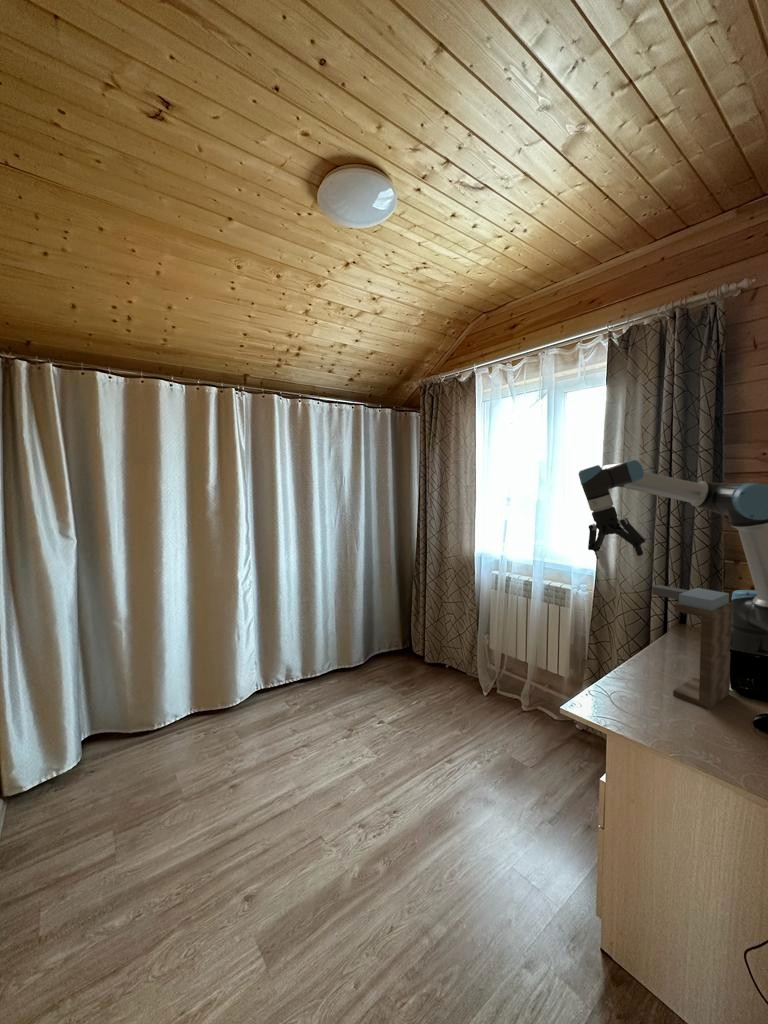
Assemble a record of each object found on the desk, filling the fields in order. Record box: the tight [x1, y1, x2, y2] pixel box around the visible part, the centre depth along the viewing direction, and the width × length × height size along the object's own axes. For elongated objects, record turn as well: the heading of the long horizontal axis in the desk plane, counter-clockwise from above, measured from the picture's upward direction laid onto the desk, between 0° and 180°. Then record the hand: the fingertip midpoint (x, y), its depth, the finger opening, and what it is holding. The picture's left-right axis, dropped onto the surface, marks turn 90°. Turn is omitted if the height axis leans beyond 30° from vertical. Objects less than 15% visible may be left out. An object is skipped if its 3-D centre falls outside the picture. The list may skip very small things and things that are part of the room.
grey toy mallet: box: [651, 584, 730, 611], centre depth 122 cm, size 12×17×3 cm
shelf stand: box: [672, 602, 732, 710], centre depth 119 cm, size 14×9×28 cm, turn 122°
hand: (622, 566), depth 140 cm, fingers open, 13 cm apart
